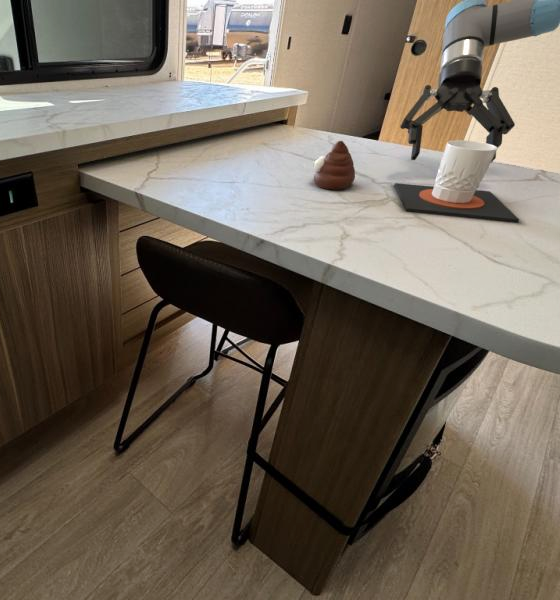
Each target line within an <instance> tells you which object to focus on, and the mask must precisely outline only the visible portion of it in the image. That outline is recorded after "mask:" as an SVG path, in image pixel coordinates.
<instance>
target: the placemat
mask: <svg viewBox="0 0 560 600" xmlns="http://www.w3.org/2000/svg"><path fill="white" fill-rule="evenodd" d="M393 186H394V188H395V190H396V193H397V195H398V197H399V199H400V201H401V203H402V205H403V208H404V211H405V212H412V213H420V214H421V213H422V214H432V215H439V216H440V215H441V216H449V217H461V218H470V219H478V220H481V219H482V220H490V221H498V222H499V221H500V222H501V221H502V222H507V223H508V222H509V223H519V222H520V219H519V218H518V217H517V216H516V215H515V213H514V212H512V211H511V210H510V208H508V207H507V206H506V205H505V204H504V203H503V202H501V200H500V199H499V198H498V197H497V196H495V195H494V194H493V193H492V191H489V190H478V189H477V190H476V192H475V194H474V196H473V198H472V200H471V201H470V202H468V203H452V202H446V201H443V200H439V199H437V198H435V197H433V195H432V191H433V188H434V185H432V186H431V185H423V184H422V185H421V184H411V183H398V182H395V183H394V184H393Z"/></svg>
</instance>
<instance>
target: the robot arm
mask: <svg viewBox="0 0 560 600" xmlns="http://www.w3.org/2000/svg"><path fill="white" fill-rule="evenodd" d="M559 26H560V0H509V1H506V2H501V3H498V4H492V5H488V4H487V2H486V1H485V0H462V1H460V2H459V3H457V4H456V5H455V6H453V8H452V9H450V11H449V12H448V14H447V15H446V19H445V25H444V28H443V38H442V47H441V59H440V67H439V76H438V85H437V88H432V85H430V84H425V86H424V87H423V90H422V92H421V93H420V94H419V95H420V96H419V98H418V100H417V101H416V102H415V104H414V105H413V106H412V108H411V109H410V110H409V112H408V113H407V114H406V115H405V117H404V118H403V120H402V121H401V124H400V125H399V128H400V129H402V130H405V129H406V130H407V134H408V138H407V143H408V144H409V145H412V147H411V155H410V156H411V158H410V160H411V161H416V159H417V158H418V156H419V155H420V154H421V147H422V146H421V144H422V137H423V127H424V124H425V123H427V122H428V121H429V120H430V119H432V117H434V116H435V115H436V114H439V113H440V112H441V111H442V110H445V111H446V112H458V113H463V112H464V111H465V112H466V114H468V116H472V117H473V118H474V119H475V120H476V122H478V123H479V124H480V125H481V126H482V127H483V128H484V130H486V132H487V133H488V135H487V136H486V137H485V138H486V139H485V143H487V144H491V145H494V146H496V147H497V149H499V147H501V145H502V144H503V135H507V134H508V133H510V131H511V130H512V129H513V128H514V127H515V126H516V123H515V122H514V120H513V118H512V117H511V115H510V113H509V111H508V109H507V108H506V106H505V104H504V103H503V101H502V99H501V98H500V97H501V96H500V91H499V87H498V86H493V87H492V88H491V89H489V90H487V89H486V90H483V89H482V87H481V84H482V75H483V64H484V51H485V47H491V46H494V45H498V44H503V43H507V42H508V43H509V42H513V41H517V40H522V39H527V38H530V37H538V36H541V35H543V34H547V33H552V32H554V31H555V30H557V29H558V28H559ZM433 97H434V99H435V100H436V101H437V102H436V103H434V104H433V105H432V106H431V107H429V108H428V109H427V110H425V111H424V112H423V113H422V114H420V115H419V116H418V117H417V118H415V119H414V117H416V115H417V114H418V112H419V111H420V110H421V108H422V107H423V106H424V104H426V103H425V102H426V101H427V102H428V101H429V100H431V98H433ZM484 104H485V105H486V106H485V105H484ZM413 119H414V120H413ZM496 157H497V152H496V153H495V155H494V157H493V159H492V161H491V163H493V162H494V161H495V160H496V159H497V158H496Z"/></svg>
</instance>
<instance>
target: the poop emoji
mask: <svg viewBox="0 0 560 600" xmlns="http://www.w3.org/2000/svg"><path fill="white" fill-rule="evenodd" d="M313 169H314V172H315V173H314V174H313V182H314V184H315V186H317V187H319V188H321V189H325V190H330V191H342V190H345V189H347V188H349V187H350V186H351V185H352V184H353V182H354V181H355V179H356V170H355V166H354V160H353V158H352V154H351V153H350V152H349V148H348V146H347V145H346V144H345V142H344V141H343V140H338V141H336V142H335V143H334V144H333V146H332V148H331V150H330V151H329V152H328V153H327V154H326V155H321V156H319V158H318V159H316V160H314V162H313Z"/></svg>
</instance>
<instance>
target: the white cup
mask: <svg viewBox="0 0 560 600" xmlns="http://www.w3.org/2000/svg"><path fill="white" fill-rule="evenodd" d="M497 150H498V148H497V147H496V146H494V145H491V144H487V143H486V142H482V141H476V140H475V141H474V140H466V139H465V140H463V139H462V140H461V139H459V140H458V139H457V140H455V139H454V140H448V141H447V142H446V145H445V147H444V151H443V154H442V157H441V161H440V163H439V166H438V170H437V173H436V177H435V183H434V185H433V186H434V188H433V191H432V195H433V197H435V198H437V199H439V200H443V201H446V202H452V203H468V202H470V201H471V200H472V198H473V196H474V194H475V192H476V190H478V189H479V187H480V185H481V183H482V181H483V179H484V177H485V175H486V174H487V171H488V169H489V168H490V165H491V164H492V162H493V161H492V159H493V157H494V155H495V153H496V154H497ZM491 161H492V162H491Z"/></svg>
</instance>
